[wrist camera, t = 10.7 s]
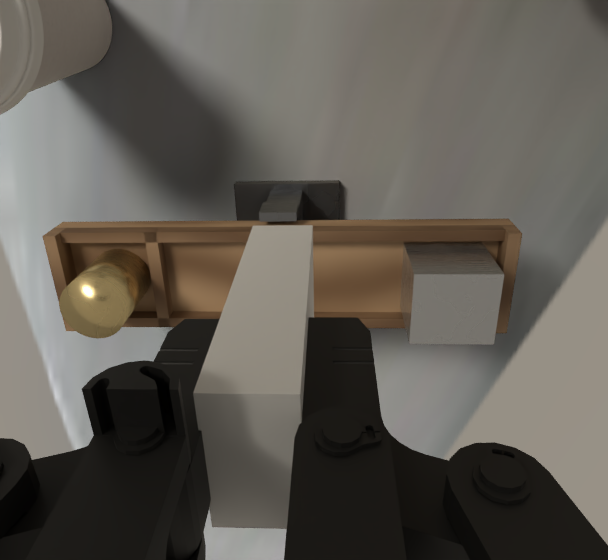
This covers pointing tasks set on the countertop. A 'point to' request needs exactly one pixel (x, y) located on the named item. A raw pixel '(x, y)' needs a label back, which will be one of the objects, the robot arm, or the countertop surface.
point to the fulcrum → (287, 200)
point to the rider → (450, 293)
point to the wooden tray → (230, 246)
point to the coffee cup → (48, 43)
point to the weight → (105, 293)
